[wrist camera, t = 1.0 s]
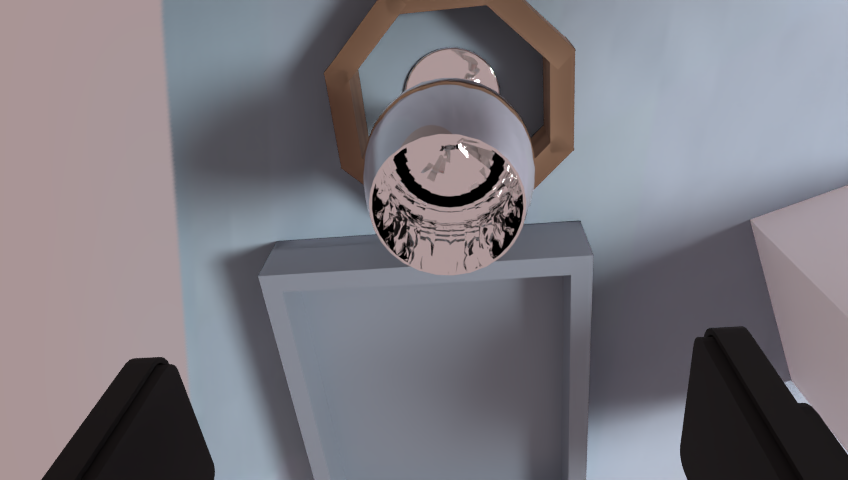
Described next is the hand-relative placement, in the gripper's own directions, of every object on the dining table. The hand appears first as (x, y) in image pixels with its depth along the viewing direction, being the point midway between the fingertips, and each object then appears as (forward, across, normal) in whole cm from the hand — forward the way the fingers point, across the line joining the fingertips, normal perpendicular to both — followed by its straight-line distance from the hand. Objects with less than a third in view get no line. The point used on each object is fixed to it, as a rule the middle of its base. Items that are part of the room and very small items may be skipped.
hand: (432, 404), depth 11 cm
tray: (+20, +2, +17) cm, 26 cm away
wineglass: (+20, 0, 0) cm, 20 cm away
